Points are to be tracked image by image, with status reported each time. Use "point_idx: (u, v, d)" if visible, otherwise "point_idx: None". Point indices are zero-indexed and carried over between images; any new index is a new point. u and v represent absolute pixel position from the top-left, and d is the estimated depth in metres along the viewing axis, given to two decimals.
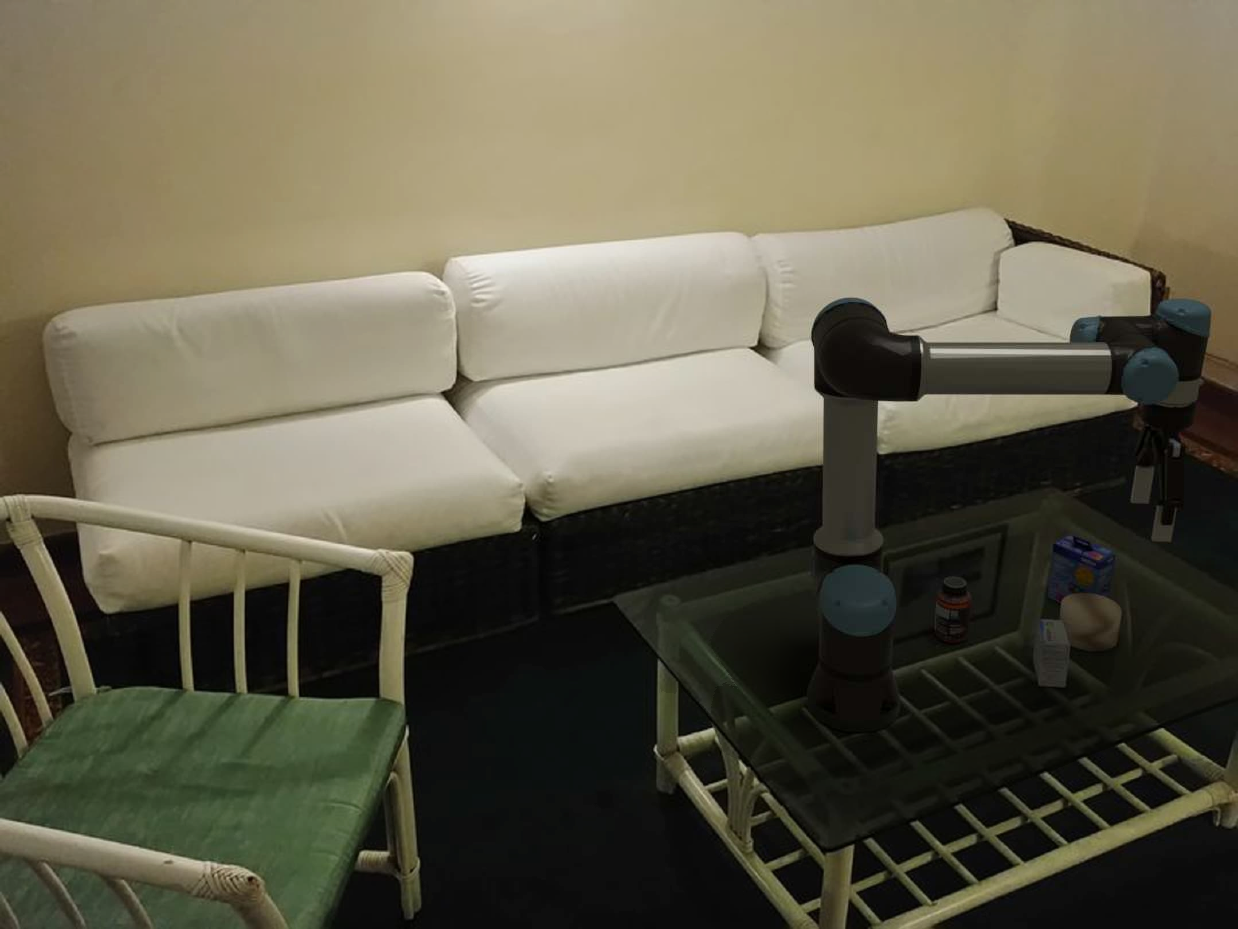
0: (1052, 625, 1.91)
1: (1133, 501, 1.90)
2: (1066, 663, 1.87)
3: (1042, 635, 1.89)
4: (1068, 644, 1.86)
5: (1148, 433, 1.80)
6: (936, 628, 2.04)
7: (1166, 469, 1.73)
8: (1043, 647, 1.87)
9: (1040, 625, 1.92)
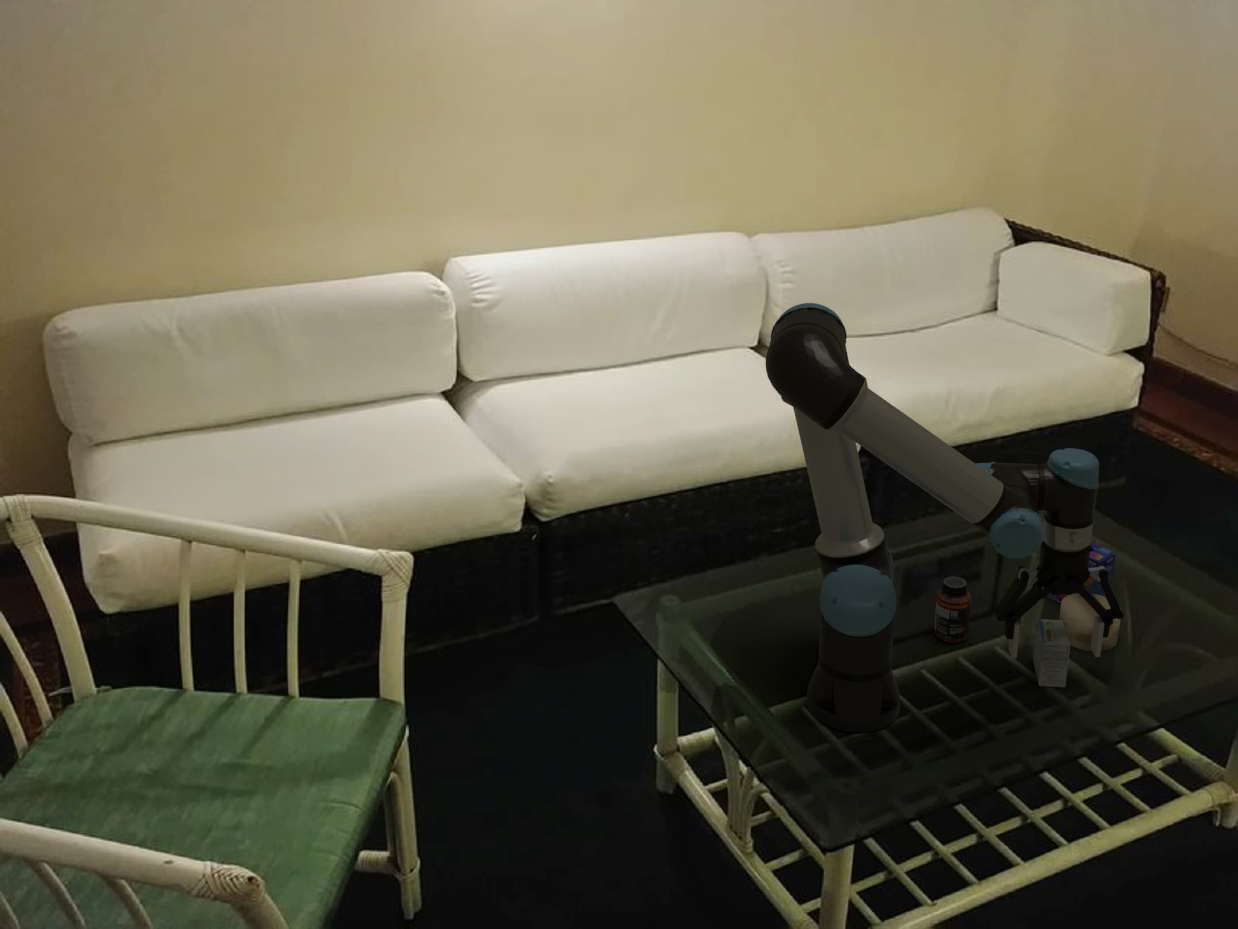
0: (1052, 625, 1.91)
1: (1091, 647, 1.91)
2: (1066, 663, 1.87)
3: (1042, 635, 1.89)
4: (1068, 644, 1.86)
5: None
6: (936, 628, 2.04)
7: None
8: (1043, 647, 1.87)
9: (1040, 625, 1.92)
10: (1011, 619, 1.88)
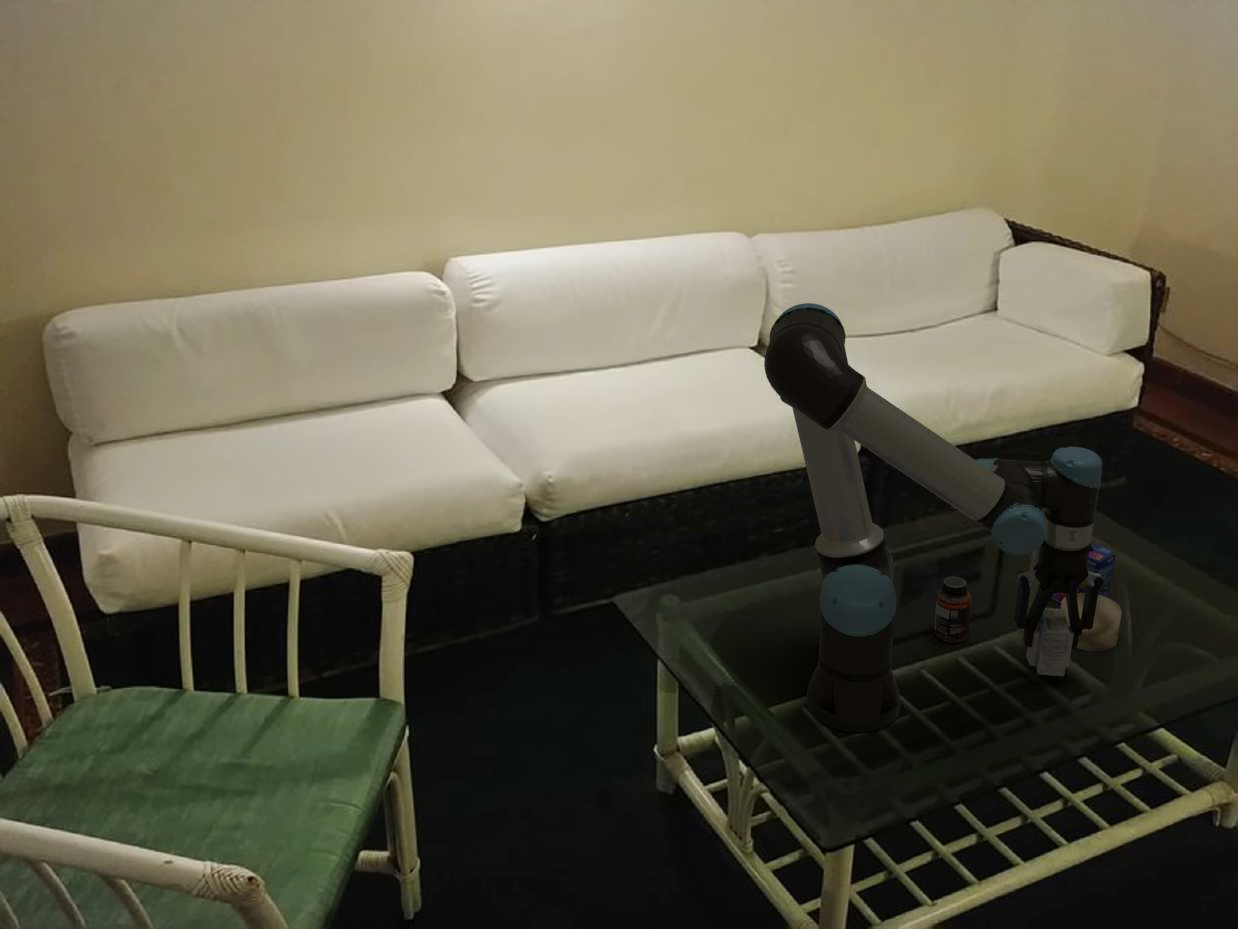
0: (1052, 614, 1.90)
1: None
2: (1066, 652, 1.86)
3: (1042, 623, 1.88)
4: (1068, 632, 1.85)
5: None
6: (936, 628, 2.04)
7: None
8: (1043, 635, 1.86)
9: None
10: (1030, 627, 1.88)
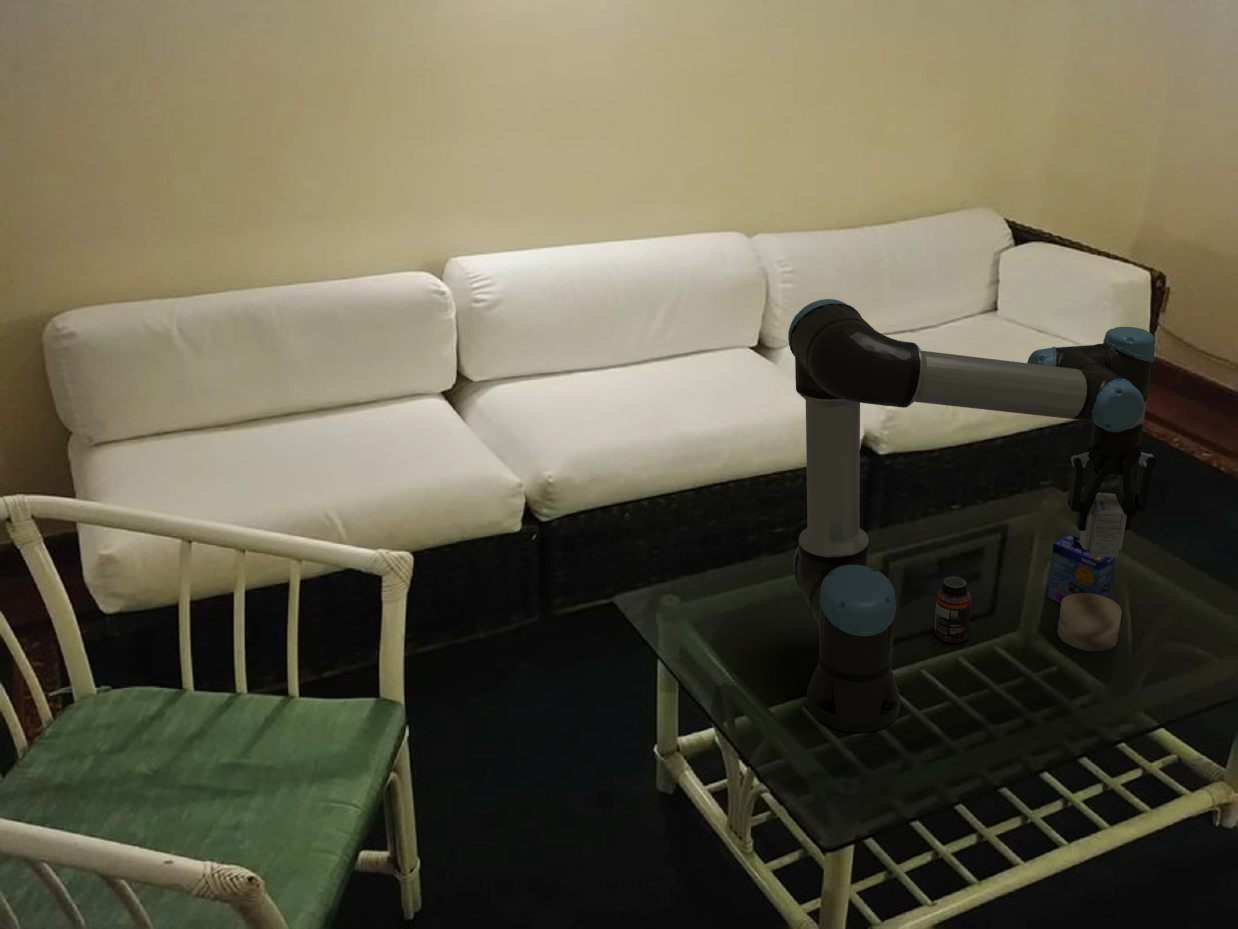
0: (1105, 497, 1.94)
1: None
2: (1119, 532, 1.90)
3: (1095, 505, 1.91)
4: (1122, 512, 1.89)
5: None
6: (936, 628, 2.04)
7: None
8: (1097, 515, 1.89)
9: None
10: (1084, 510, 1.92)
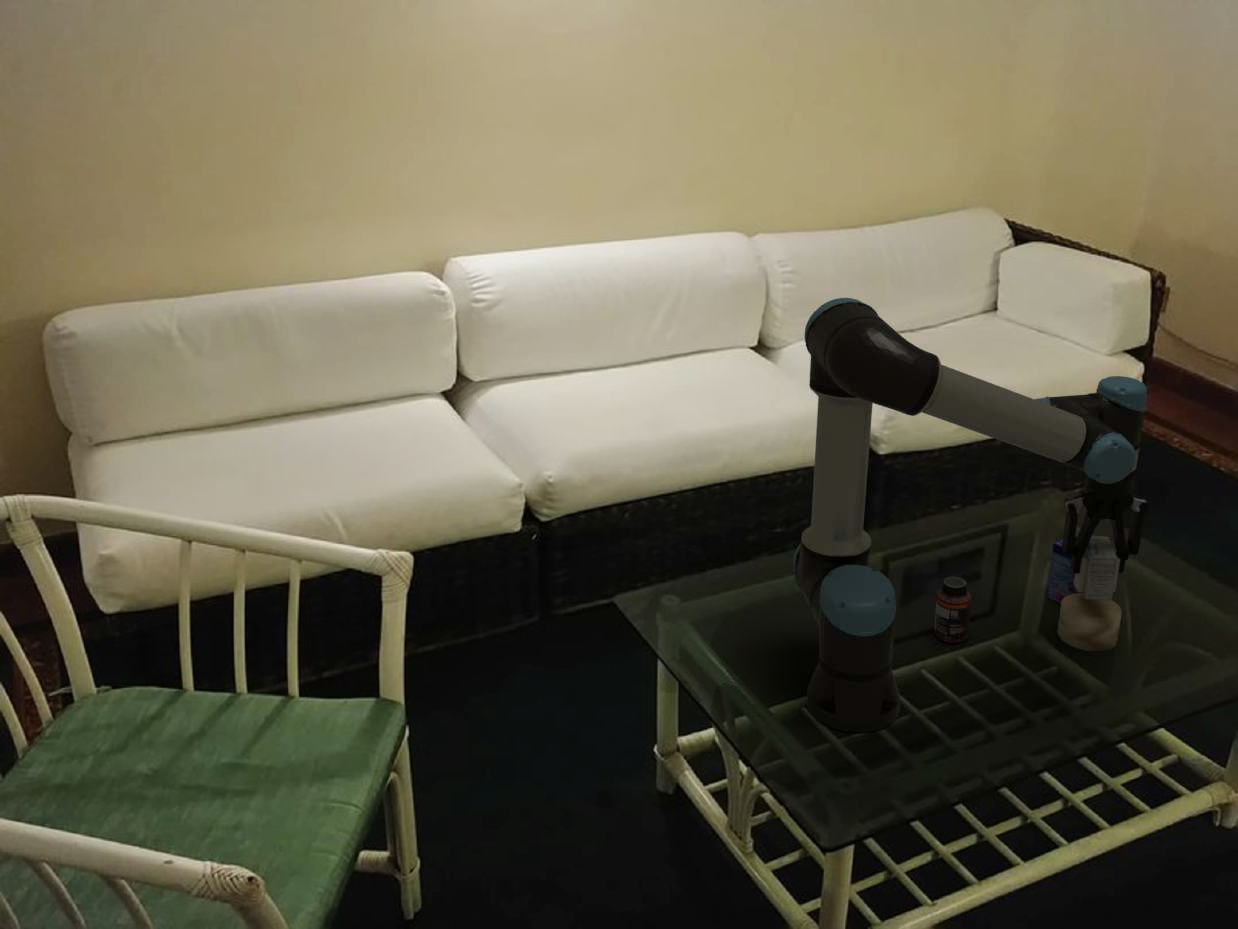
0: (1099, 541, 1.97)
1: None
2: (1113, 576, 1.93)
3: (1089, 549, 1.95)
4: (1115, 557, 1.92)
5: None
6: (936, 628, 2.04)
7: None
8: (1091, 560, 1.93)
9: None
10: (1078, 554, 1.95)
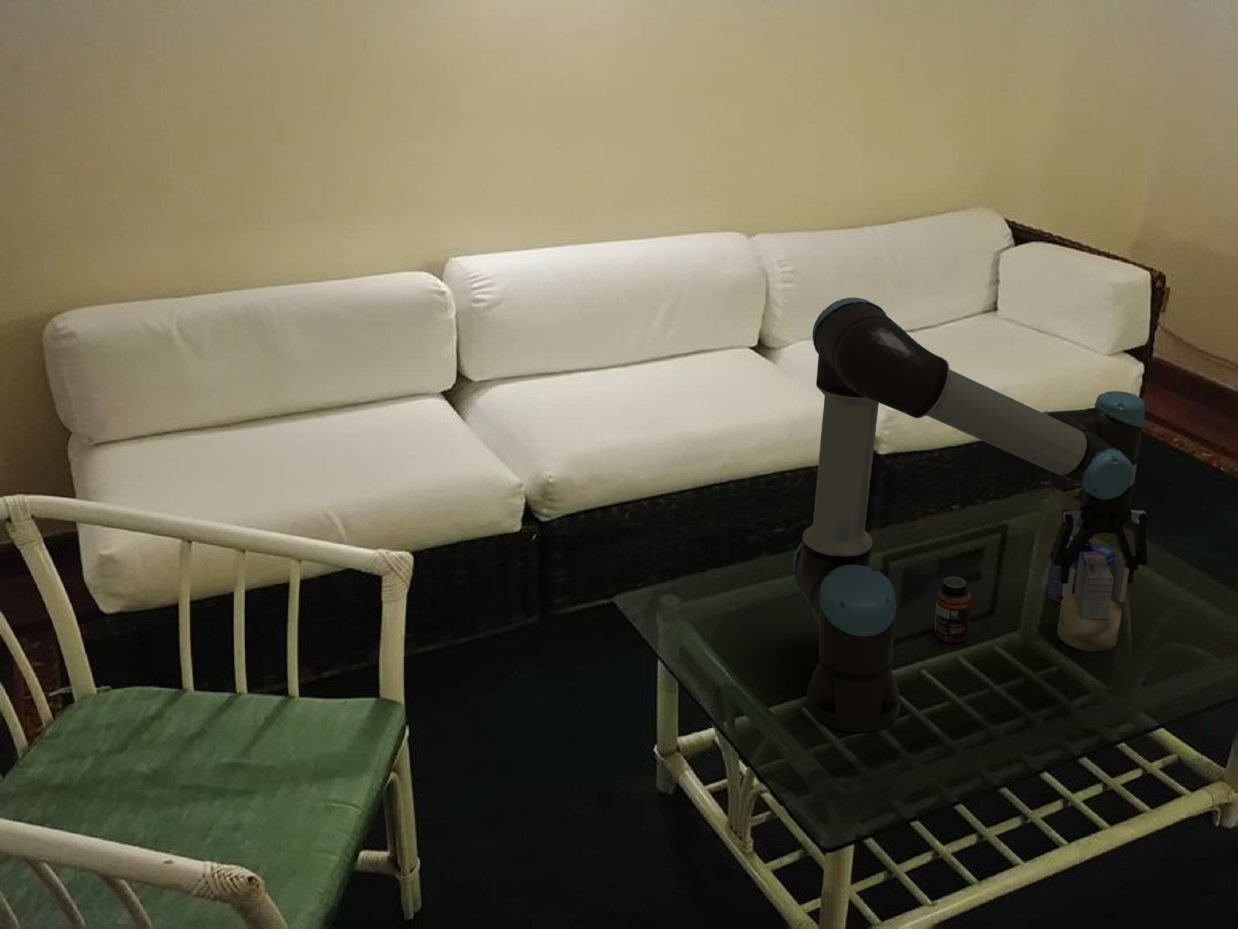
0: (1094, 560, 1.99)
1: (1115, 593, 2.00)
2: (1109, 595, 1.95)
3: (1085, 569, 1.96)
4: (1111, 577, 1.93)
5: None
6: (936, 628, 2.04)
7: None
8: (1087, 580, 1.94)
9: (1082, 560, 1.99)
10: (1066, 564, 1.96)
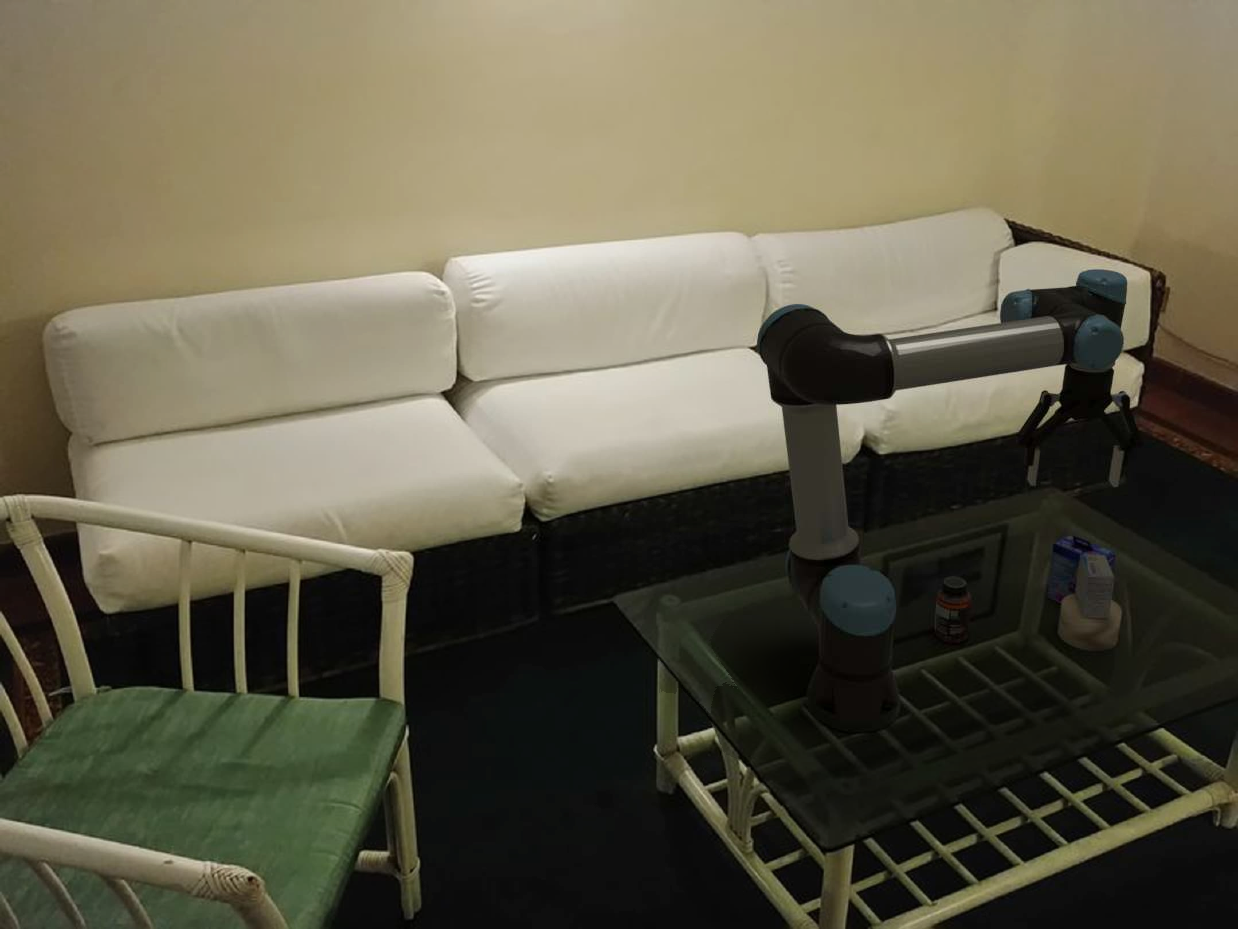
0: (1095, 560, 1.99)
1: (1109, 479, 1.94)
2: (1110, 595, 1.95)
3: (1086, 568, 1.96)
4: (1112, 576, 1.94)
5: None
6: (936, 628, 2.04)
7: None
8: (1088, 579, 1.94)
9: (1083, 560, 1.99)
10: (1032, 444, 1.90)
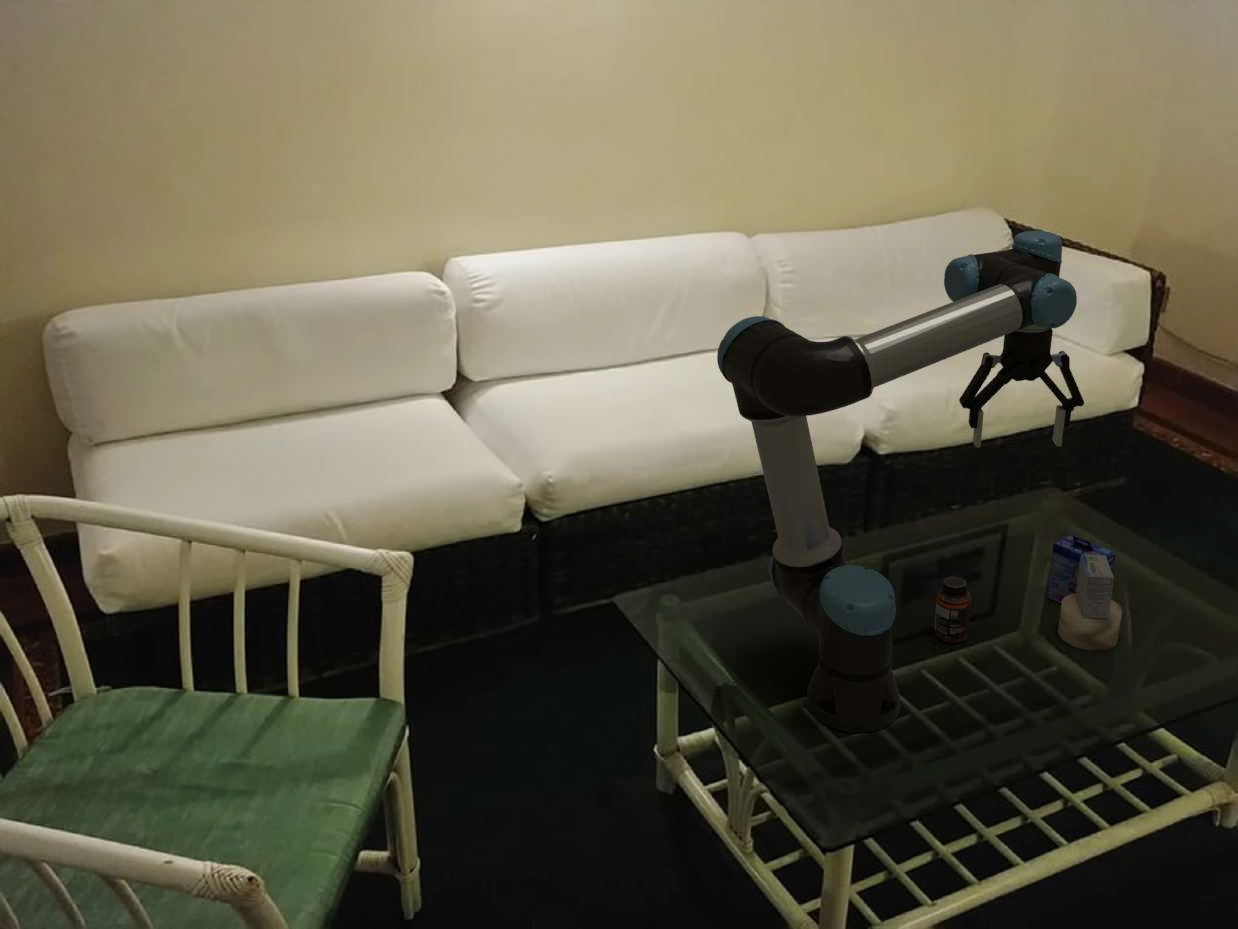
0: (1096, 560, 1.99)
1: (1053, 439, 1.97)
2: (1110, 595, 1.95)
3: (1086, 568, 1.97)
4: (1112, 576, 1.94)
5: None
6: (936, 628, 2.04)
7: None
8: (1087, 579, 1.95)
9: (1084, 560, 1.99)
10: (975, 406, 1.93)
